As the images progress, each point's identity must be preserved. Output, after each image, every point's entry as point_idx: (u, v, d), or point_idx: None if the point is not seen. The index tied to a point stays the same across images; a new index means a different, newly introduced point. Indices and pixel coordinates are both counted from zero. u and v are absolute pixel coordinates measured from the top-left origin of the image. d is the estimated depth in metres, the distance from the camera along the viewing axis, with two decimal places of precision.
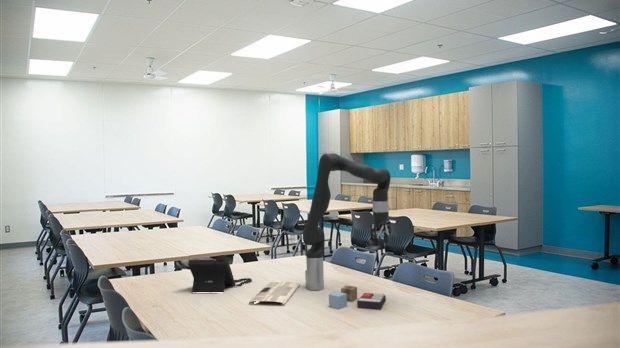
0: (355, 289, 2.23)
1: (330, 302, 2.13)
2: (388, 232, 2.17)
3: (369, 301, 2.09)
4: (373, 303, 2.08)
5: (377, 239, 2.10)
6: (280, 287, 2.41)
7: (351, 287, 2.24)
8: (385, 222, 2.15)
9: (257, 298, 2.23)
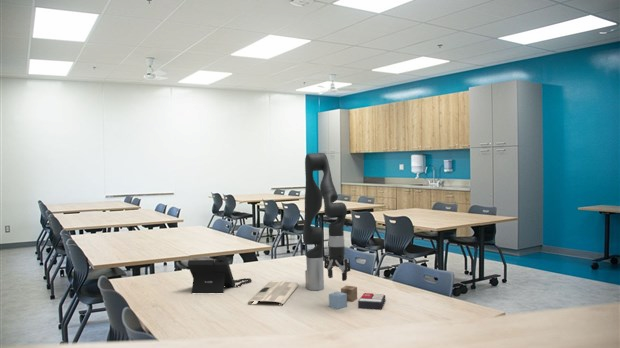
0: (355, 289, 2.23)
1: (330, 302, 2.13)
2: None
3: (370, 301, 2.09)
4: (374, 303, 2.08)
5: None
6: (279, 287, 2.41)
7: (351, 287, 2.24)
8: None
9: (256, 298, 2.23)
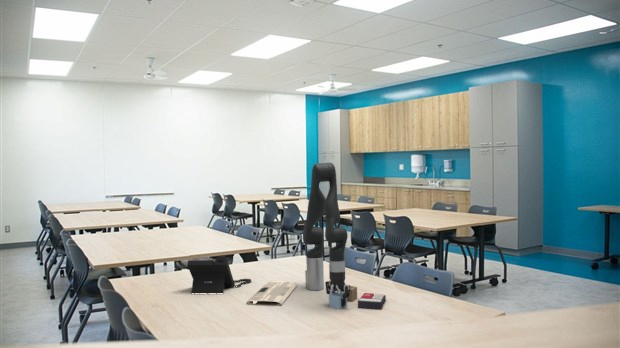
0: (355, 289, 2.23)
1: (330, 302, 2.13)
2: None
3: (370, 301, 2.09)
4: (374, 303, 2.08)
5: None
6: (278, 287, 2.41)
7: (351, 287, 2.24)
8: None
9: (255, 298, 2.23)
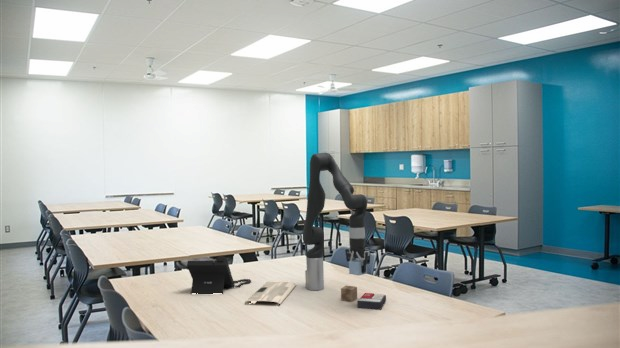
0: (355, 289, 2.23)
1: (350, 269, 2.13)
2: (353, 259, 2.17)
3: (369, 301, 2.09)
4: (373, 303, 2.08)
5: None
6: (276, 287, 2.41)
7: (351, 287, 2.24)
8: None
9: (253, 298, 2.23)
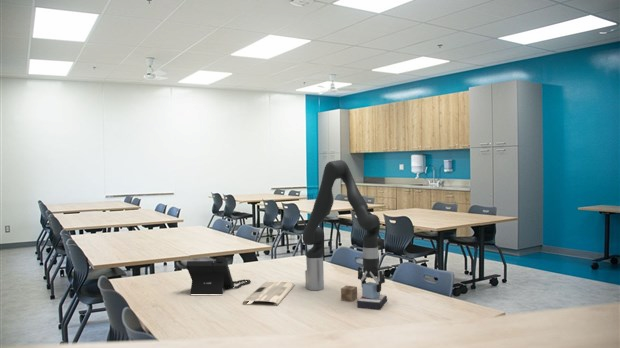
0: (355, 289, 2.23)
1: (363, 292, 2.15)
2: None
3: (369, 301, 2.09)
4: (373, 303, 2.08)
5: None
6: (275, 287, 2.42)
7: (351, 287, 2.24)
8: None
9: (251, 298, 2.23)
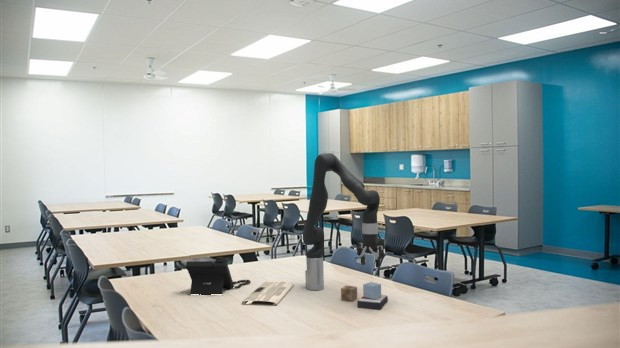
0: (355, 289, 2.23)
1: (364, 292, 2.15)
2: None
3: (369, 301, 2.09)
4: (373, 304, 2.08)
5: None
6: (274, 287, 2.42)
7: (351, 287, 2.24)
8: None
9: (250, 298, 2.23)
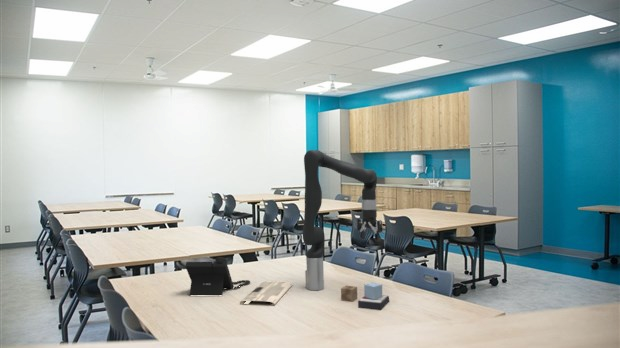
0: (355, 289, 2.23)
1: (365, 292, 2.15)
2: None
3: (370, 301, 2.09)
4: (373, 304, 2.08)
5: None
6: (272, 287, 2.42)
7: (351, 287, 2.24)
8: None
9: (248, 298, 2.24)
